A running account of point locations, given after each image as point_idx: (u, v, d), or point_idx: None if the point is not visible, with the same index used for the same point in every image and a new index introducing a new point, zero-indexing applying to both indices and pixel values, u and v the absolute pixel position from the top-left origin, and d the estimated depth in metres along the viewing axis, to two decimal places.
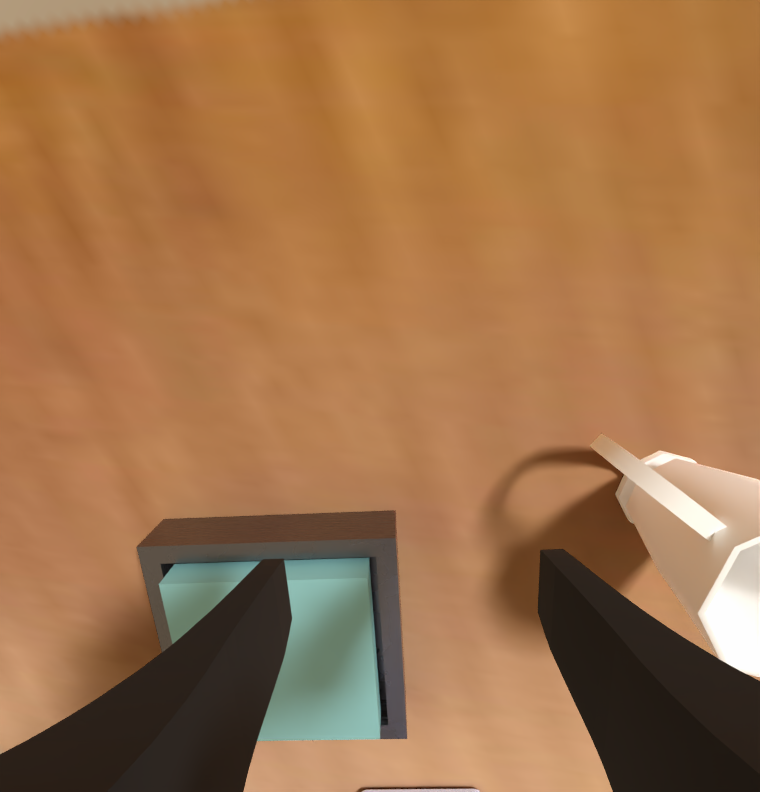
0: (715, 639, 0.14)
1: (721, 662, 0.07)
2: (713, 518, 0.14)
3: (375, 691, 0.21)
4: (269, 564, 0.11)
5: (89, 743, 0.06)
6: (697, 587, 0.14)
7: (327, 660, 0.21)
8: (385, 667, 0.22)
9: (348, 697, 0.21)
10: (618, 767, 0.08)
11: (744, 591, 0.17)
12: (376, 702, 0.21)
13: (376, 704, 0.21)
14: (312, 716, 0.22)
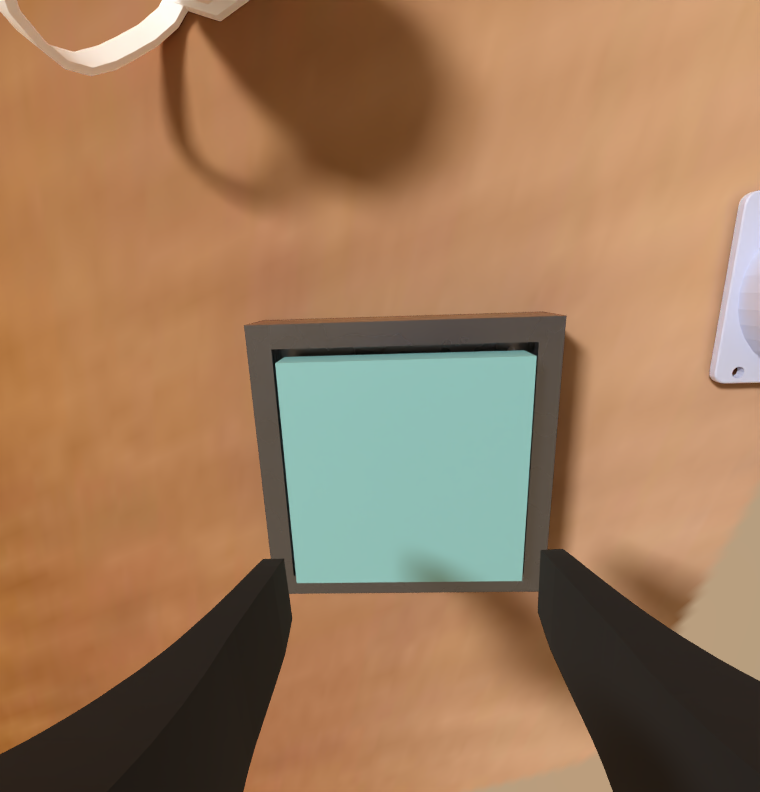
0: None
1: (721, 662, 0.07)
2: None
3: (451, 359, 0.16)
4: (269, 564, 0.11)
5: (89, 744, 0.06)
6: None
7: (399, 417, 0.16)
8: (438, 342, 0.17)
9: (460, 394, 0.16)
10: (618, 767, 0.08)
11: None
12: (471, 358, 0.16)
13: (474, 358, 0.16)
14: (489, 441, 0.17)
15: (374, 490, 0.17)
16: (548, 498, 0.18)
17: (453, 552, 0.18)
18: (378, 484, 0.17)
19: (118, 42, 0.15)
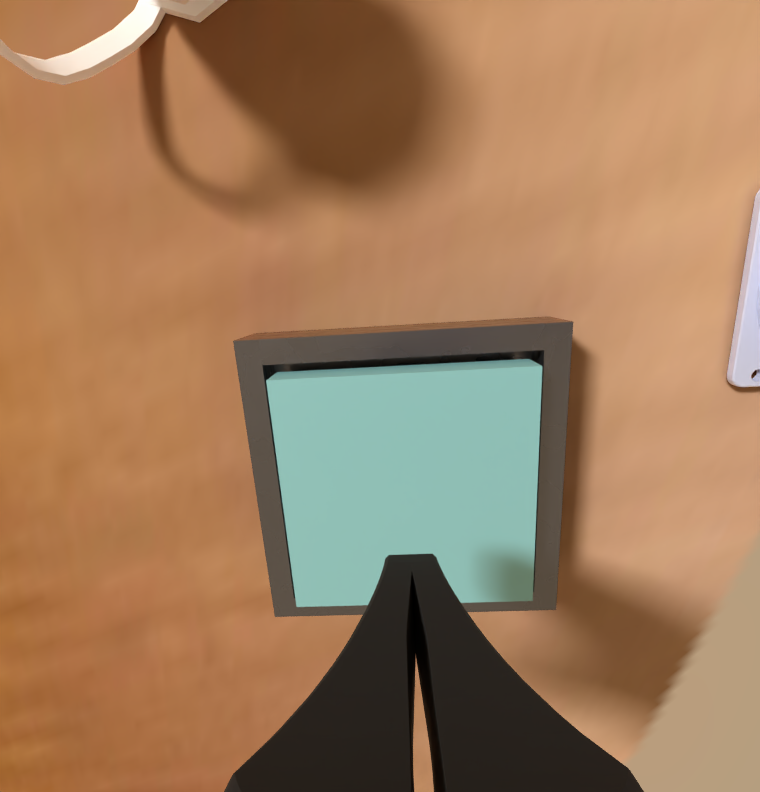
0: None
1: (506, 667, 0.07)
2: None
3: (452, 371, 0.15)
4: (400, 559, 0.11)
5: (343, 740, 0.06)
6: None
7: (398, 433, 0.16)
8: (437, 353, 0.16)
9: (462, 408, 0.15)
10: (433, 769, 0.08)
11: None
12: (472, 370, 0.15)
13: (476, 370, 0.15)
14: (494, 456, 0.16)
15: (374, 510, 0.16)
16: (558, 513, 0.17)
17: (459, 572, 0.17)
18: (378, 503, 0.16)
19: (92, 48, 0.14)
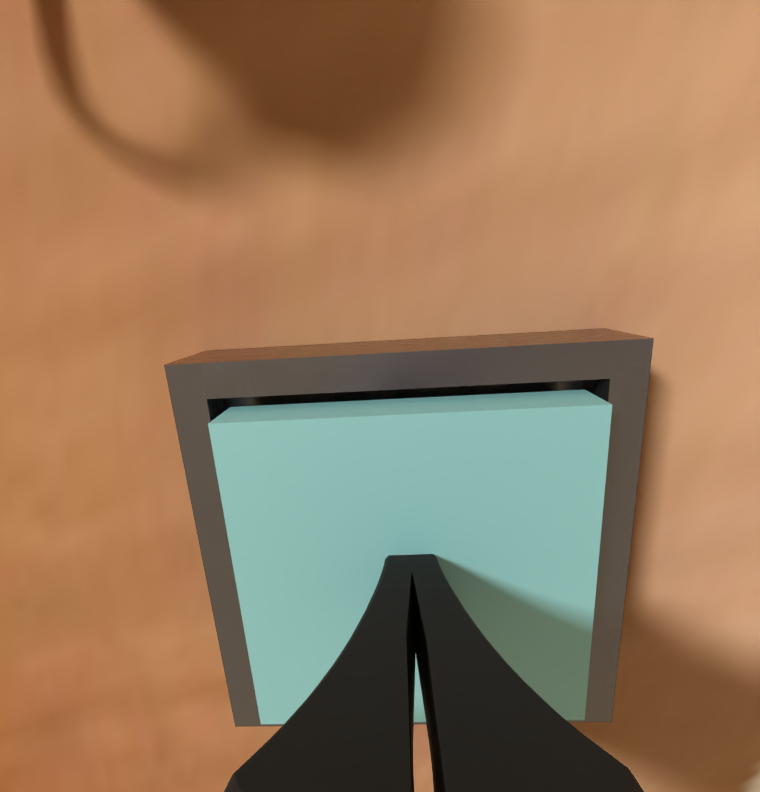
0: None
1: (506, 667, 0.07)
2: None
3: (478, 412, 0.10)
4: (400, 560, 0.11)
5: (343, 740, 0.06)
6: None
7: (400, 499, 0.11)
8: (456, 383, 0.11)
9: (492, 464, 0.11)
10: (433, 769, 0.08)
11: None
12: (509, 410, 0.10)
13: (514, 410, 0.10)
14: (537, 531, 0.11)
15: (366, 601, 0.12)
16: (620, 599, 0.13)
17: None
18: (372, 592, 0.12)
19: None
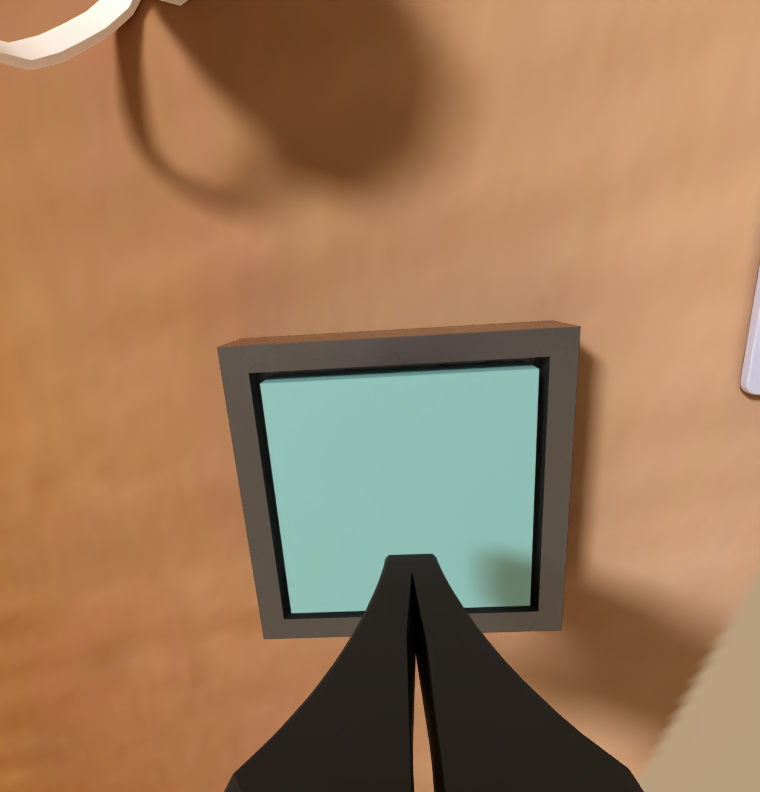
0: None
1: (506, 666, 0.07)
2: None
3: (448, 374, 0.15)
4: (400, 559, 0.11)
5: (343, 739, 0.06)
6: None
7: (394, 437, 0.15)
8: (436, 360, 0.15)
9: (458, 411, 0.15)
10: (433, 769, 0.08)
11: None
12: (468, 373, 0.15)
13: (472, 373, 0.15)
14: (490, 460, 0.16)
15: (370, 514, 0.16)
16: (564, 529, 0.16)
17: (456, 576, 0.17)
18: (374, 508, 0.16)
19: (63, 31, 0.13)
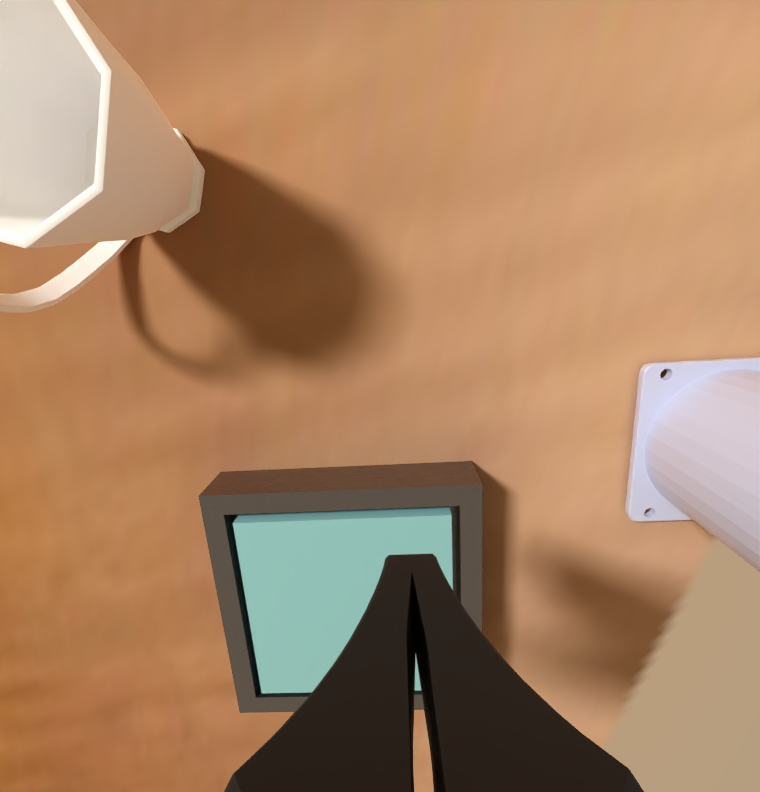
0: (54, 217, 0.11)
1: (506, 667, 0.07)
2: None
3: (380, 518, 0.19)
4: (400, 559, 0.11)
5: (343, 740, 0.06)
6: None
7: (339, 563, 0.19)
8: (370, 507, 0.19)
9: (389, 545, 0.19)
10: (433, 769, 0.08)
11: None
12: (396, 517, 0.19)
13: (399, 517, 0.19)
14: None
15: (322, 619, 0.20)
16: None
17: None
18: (326, 615, 0.20)
19: (78, 265, 0.17)
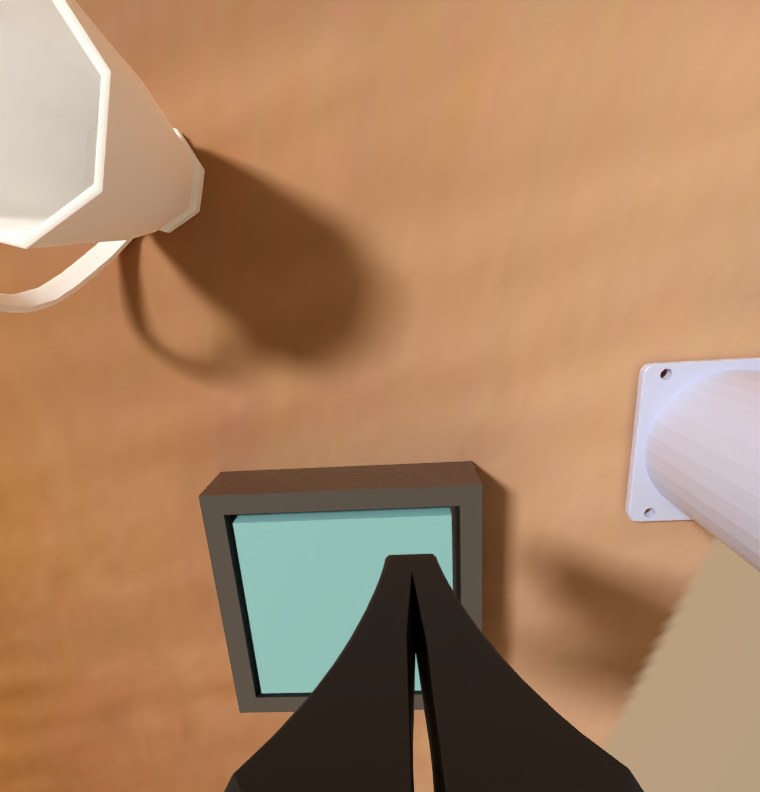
0: (54, 218, 0.11)
1: (506, 667, 0.07)
2: None
3: (380, 518, 0.19)
4: (400, 559, 0.11)
5: (343, 740, 0.06)
6: None
7: (339, 563, 0.19)
8: (370, 507, 0.19)
9: (389, 545, 0.19)
10: (433, 769, 0.08)
11: None
12: (396, 517, 0.19)
13: (399, 517, 0.19)
14: None
15: (322, 619, 0.20)
16: None
17: None
18: (326, 615, 0.20)
19: (78, 265, 0.17)
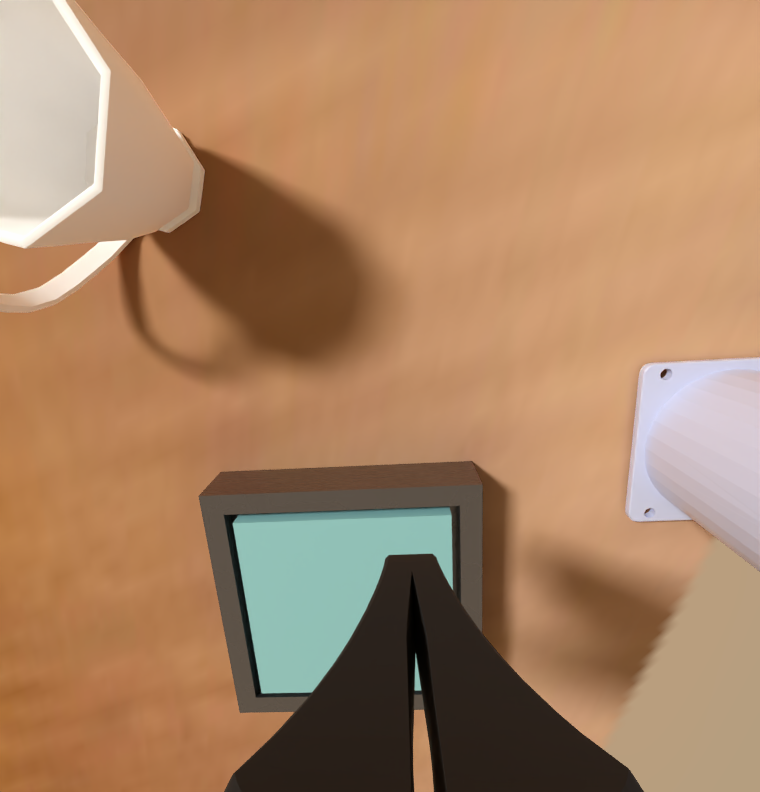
0: (54, 217, 0.11)
1: (506, 667, 0.07)
2: None
3: (380, 518, 0.19)
4: (400, 559, 0.11)
5: (343, 740, 0.06)
6: None
7: (339, 563, 0.19)
8: (370, 507, 0.19)
9: (389, 545, 0.19)
10: (433, 769, 0.08)
11: None
12: (396, 517, 0.19)
13: (399, 517, 0.19)
14: None
15: (322, 619, 0.20)
16: None
17: None
18: (326, 615, 0.20)
19: (78, 265, 0.17)
